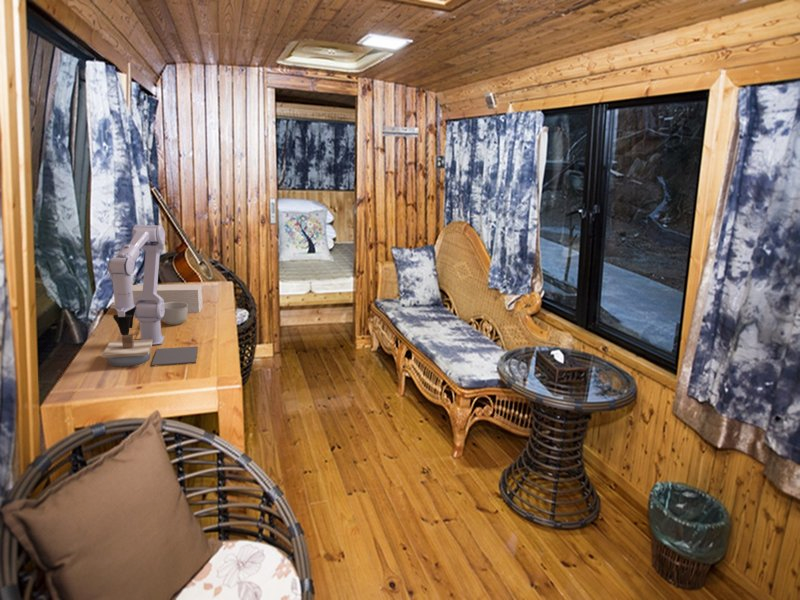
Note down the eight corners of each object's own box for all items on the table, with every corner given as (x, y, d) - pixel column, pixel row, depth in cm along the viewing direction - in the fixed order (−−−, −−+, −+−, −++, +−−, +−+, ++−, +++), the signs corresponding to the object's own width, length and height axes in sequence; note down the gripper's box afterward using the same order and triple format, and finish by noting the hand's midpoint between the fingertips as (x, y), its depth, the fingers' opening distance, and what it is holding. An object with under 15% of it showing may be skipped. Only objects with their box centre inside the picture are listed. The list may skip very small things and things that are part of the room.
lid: (110, 344, 201) (108, 330, 200) (153, 341, 205) (151, 328, 204) (102, 358, 188) (100, 343, 187) (148, 355, 192) (146, 341, 191)
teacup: (182, 317, 247) (181, 300, 245) (193, 323, 239) (191, 305, 237) (149, 323, 237) (148, 305, 235) (159, 330, 230) (157, 310, 228)
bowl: (112, 354, 202) (111, 344, 201) (152, 352, 205) (151, 342, 204) (105, 367, 190) (104, 357, 189) (147, 365, 193) (146, 354, 192)
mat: (157, 350, 207) (157, 348, 207) (197, 347, 211) (197, 346, 211) (151, 366, 192) (151, 364, 192) (195, 363, 196) (195, 361, 196)
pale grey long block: (122, 314, 249) (120, 290, 247) (129, 308, 259) (127, 285, 257) (199, 313, 255) (197, 289, 252) (202, 306, 265) (201, 284, 262)
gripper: (114, 288, 197) (117, 325, 200) (105, 298, 183) (110, 338, 187) (136, 287, 199) (139, 324, 202) (129, 297, 185) (133, 337, 189)
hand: (127, 331), depth 195 cm, fingers open, 7 cm apart
